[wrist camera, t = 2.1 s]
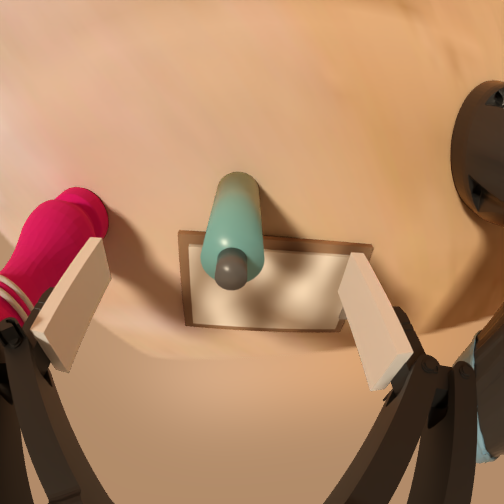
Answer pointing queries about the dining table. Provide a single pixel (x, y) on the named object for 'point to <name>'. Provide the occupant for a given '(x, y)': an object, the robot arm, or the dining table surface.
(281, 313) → the clipboard
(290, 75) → the dining table surface
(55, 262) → the pepper mill
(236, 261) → the bottle
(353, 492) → the robot arm
